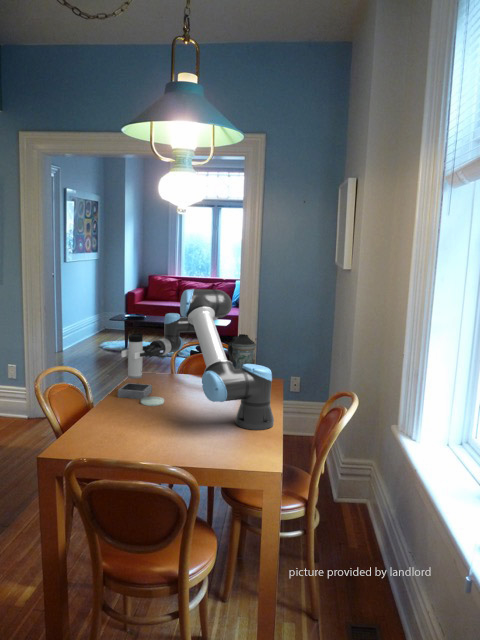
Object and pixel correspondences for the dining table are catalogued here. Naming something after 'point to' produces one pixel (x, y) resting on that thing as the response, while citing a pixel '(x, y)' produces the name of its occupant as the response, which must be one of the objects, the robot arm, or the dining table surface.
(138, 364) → the travel mug
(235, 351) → the beer stein
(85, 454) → the dining table surface
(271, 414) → the robot arm
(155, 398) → the disc
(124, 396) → the square frame
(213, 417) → the dining table surface
